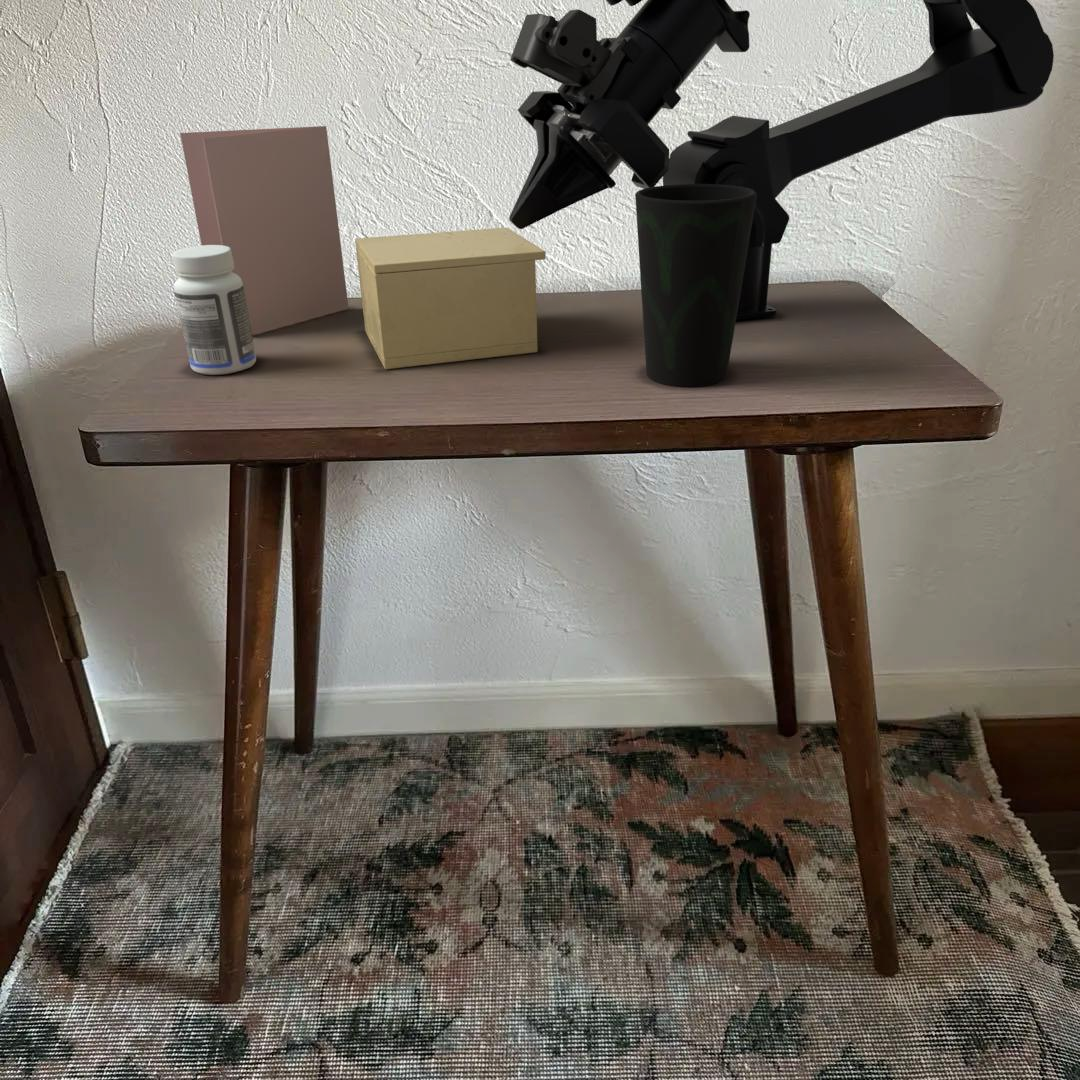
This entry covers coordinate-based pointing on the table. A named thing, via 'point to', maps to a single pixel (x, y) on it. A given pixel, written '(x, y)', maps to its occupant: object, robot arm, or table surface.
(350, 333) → the table surface
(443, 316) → the pale yellow box
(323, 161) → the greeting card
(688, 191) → the cup
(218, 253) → the pill bottle
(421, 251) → the lid
